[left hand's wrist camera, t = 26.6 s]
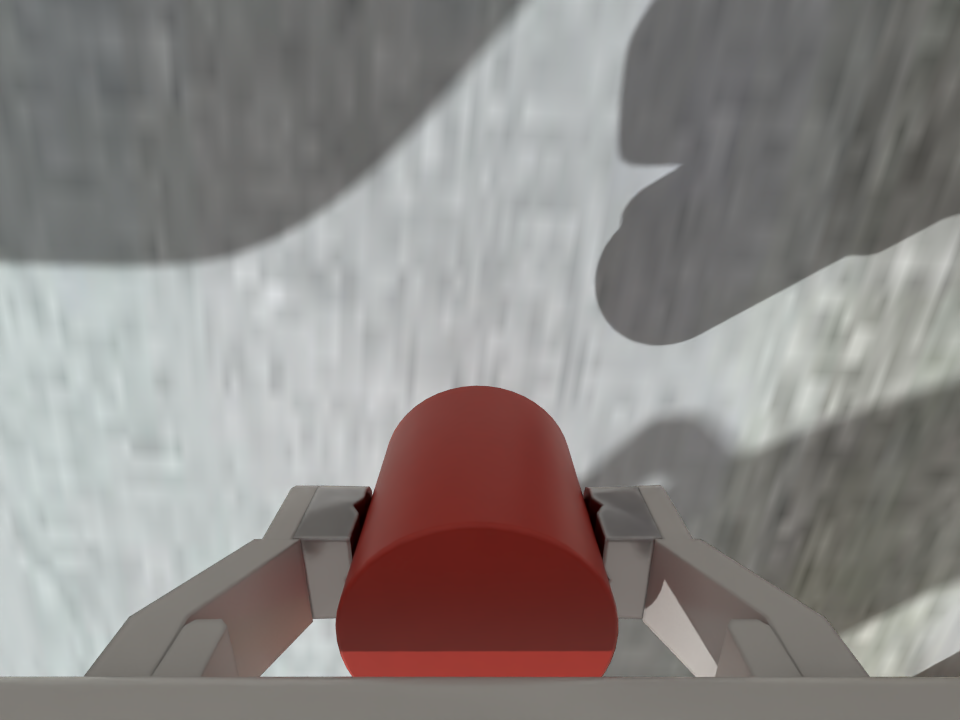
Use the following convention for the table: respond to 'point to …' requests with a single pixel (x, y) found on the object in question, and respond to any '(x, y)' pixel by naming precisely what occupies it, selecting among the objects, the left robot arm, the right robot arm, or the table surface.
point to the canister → (477, 551)
